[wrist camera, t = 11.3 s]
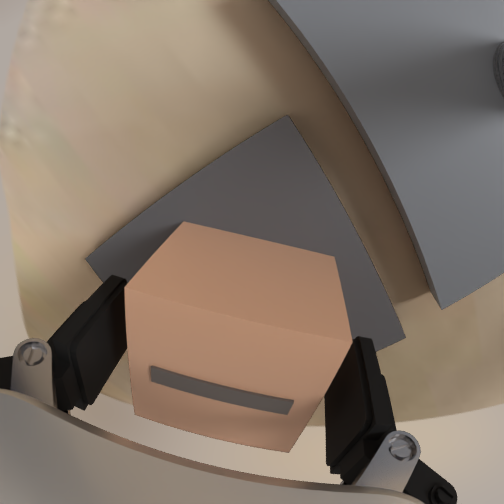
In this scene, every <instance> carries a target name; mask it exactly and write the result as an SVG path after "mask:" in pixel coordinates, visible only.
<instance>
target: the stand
mask: <svg viewBox="0 0 504 504" xmlns="http://www.w3.org/2000/svg"><path fill="white" fill-rule="evenodd" d="M268 1H269V2H270V3H271V4H272V6H273V7H274V8H275V9H276V10H277V12H278V13H279V14H280V15H281V17H282V18H283V19H284V20H285V22H286V23H287V24H288V26H289V27H290V28H291V29H292V31H293V32H294V33H295V35H296V36H297V37H298V39H299V40H300V41H301V43H302V44H303V46H304V47H305V48H306V50H307V51H308V52H309V54H310V55H311V57H312V58H313V60H314V61H315V62H316V64H317V65H318V67H319V68H320V70H321V71H322V73H323V74H324V76H325V77H326V79H327V80H328V82H329V83H330V85H331V86H332V88H333V90H334V91H335V93H336V94H337V96H338V97H339V99H340V101H341V102H342V104H343V106H344V107H345V109H346V111H347V112H348V114H349V116H350V117H351V119H352V121H353V122H354V124H355V126H356V128H357V129H358V131H359V133H360V135H361V136H362V138H363V140H364V142H365V144H366V145H367V147H368V149H369V151H370V153H371V155H372V157H373V159H374V160H375V162H376V164H377V166H378V168H379V170H380V172H381V174H382V176H383V178H384V180H385V182H386V184H387V186H388V188H389V191H390V193H391V195H392V197H393V199H394V201H395V203H396V206H397V208H398V210H399V212H400V214H401V217H402V219H403V221H404V224H405V226H406V228H407V231H408V233H409V235H410V238H411V240H412V243H413V245H414V248H415V250H416V253H417V255H418V258H419V260H420V263H421V266H422V268H423V271H424V274H425V277H426V279H427V282H428V285H429V288H430V291H431V293H432V295H433V296H434V298H435V300H436V301H437V303H438V305H439V306H440V308H441V310H443V309H444V308H446V307H448V306H450V305H452V304H453V303H455V302H457V301H459V300H460V299H462V298H464V297H466V296H467V295H469V294H471V293H472V292H474V291H476V290H477V289H479V288H481V287H482V286H484V285H485V284H487V283H489V282H490V281H492V280H493V279H495V278H496V277H498V276H500V275H501V274H503V273H504V97H503V96H502V94H501V92H500V90H499V88H498V86H497V83H496V80H495V76H494V70H493V58H494V54H495V51H496V49H497V47H498V46H499V45H500V44H501V43H503V42H504V0H268Z"/></svg>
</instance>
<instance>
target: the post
mask: <svg viewBox="0 0 504 504" xmlns="http://www.w3.org/2000/svg"><path fill="white" fill-rule="evenodd" d="M493 70H494V76H495V80H496V83H497V86H498V88H499V90H500V92H501V94H502V96H503V97H504V42H503V43H501V44H500V45H499V46H498V47H497V49H496V51H495V54H494V58H493Z"/></svg>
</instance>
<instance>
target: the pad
mask: <svg viewBox="0 0 504 504" xmlns="http://www.w3.org/2000/svg"><path fill="white" fill-rule="evenodd" d="M183 221H184V222H188V223H193V224H197V225H201V226H206V227H210V228H215V229H219V230H223V231H228V232H232V233H236V234H241V235H245V236H249V237H254V238H258V239H262V240H266V241H271V242H275V243H279V244H283V245H287V246H292V247H296V248H300V249H304V250H308V251H313V252H317V253H321V254H325V255H329V256H333V257H335V261H336V265H337V270H338V274H339V278H340V283H341V287H342V292H343V297H344V301H345V306H346V311H347V316H348V321H349V326H350V331H351V336H352V339H355V338H356V337H357V336H361V337H366V338H371V339H372V340H373V344H374V348H375V352H376V351H378V350H381V349H383V348H385V347H387V346H389V345H392V344H394V343H396V342H398V341H400V340H402V339H404V338H406V337H405V334H404V332H403V329H402V327H401V324H400V322H399V319H398V317H397V315H396V313H395V310H394V308H393V306H392V304H391V301H390V299H389V297H388V295H387V293H386V290H385V288H384V286H383V284H382V282H381V280H380V278H379V276H378V273H377V271H376V269H375V267H374V265H373V263H372V261H371V259H370V257H369V255H368V253H367V251H366V249H365V247H364V245H363V243H362V241H361V239H360V237H359V235H358V234H357V232H356V230H355V228H354V226H353V224H352V222H351V220H350V218H349V217H348V215H347V213H346V211H345V209H344V207H343V206H342V204H341V202H340V200H339V198H338V196H337V195H336V193H335V191H334V189H333V188H332V186H331V184H330V182H329V181H328V179H327V177H326V176H325V174H324V172H323V170H322V169H321V167H320V165H319V164H318V162H317V160H316V159H315V157H314V155H313V154H312V152H311V150H310V149H309V147H308V146H307V144H306V142H305V141H304V139H303V138H302V136H301V134H300V133H299V131H298V130H297V128H296V126H295V125H294V123H293V122H292V120H291V119H290V117H289V116H288V115H286V116H284V117H283V118H281V119H279V120H277V121H276V122H274V123H273V124H271V125H269V126H268V127H266V128H264V129H263V130H261V131H259V132H258V133H256V134H255V135H253V136H251V137H250V138H248V139H247V140H245V141H244V142H242V143H240V144H239V145H237V146H236V147H234V148H233V149H231V150H230V151H228V152H227V153H225V154H224V155H222V156H221V157H219V158H218V159H216V160H215V161H213V162H212V163H210V164H209V165H207V166H206V167H204V168H203V169H201V170H200V171H199V172H197V173H196V174H194V175H193V176H191V177H190V178H189V179H187V180H186V181H184V182H183V183H181V184H180V185H179V186H177V187H176V188H175V189H173V190H172V191H170V192H169V193H168V194H166V195H165V196H164V197H162V198H161V199H160V200H158V201H157V202H155V203H154V204H153V205H151V206H150V207H149V208H148V209H146V210H145V211H144V212H142V213H141V214H140V215H138V216H137V217H136V218H135V219H133V220H132V221H131V222H129V223H128V224H127V225H126V226H124V227H123V228H122V229H121V230H119V231H118V232H117V233H116V234H114V235H113V236H112V237H111V238H109V239H108V240H107V241H106V242H105V243H103V244H102V245H101V246H100V247H98V248H97V249H96V250H95V251H94V252H92V253H91V254H90V255H89V256H88V257H87V258H85V259H86V261H87V262H88V263H89V265H90V266H91V267H92V269H93V270H94V271H95V273H96V274H97V275H98V277H99V278H100V279H101V280H102V282H103V283H104V282H105V281H106V280H107V279H108V278H109V277H110V276H111V275H115V276H119V277H122V278H125V279H126V280H127V283H128V282H129V281H130V280H131V279H132V278H133V277H134V276H135V274H136V273H137V272H138V271H139V270H140V269H141V268H142V266H143V265H144V264H145V263H146V262H147V261H148V260H149V259H150V257H151V256H152V255H153V254H154V253H155V252H156V251H157V250H158V249H159V247H160V246H161V245H162V244H163V243H164V242H165V241H166V240H167V239H168V238H169V236H170V235H171V234H172V233H173V232H174V231H175V230H176V229H177V228H178V227H179V226H180V225H181V224H182V223H183Z"/></svg>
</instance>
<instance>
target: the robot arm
mask: <svg viewBox="0 0 504 504" xmlns="http://www.w3.org/2000/svg"><path fill="white" fill-rule="evenodd" d="M127 284H128V283H127V280H126V279H125V278H122V277H119V276H115V275H111V276H110V277H109V278H108V279H107V280H106V281H105V282H104V283H103V284H102V285H101V286H100V287H99V288H98V289H97V290H96V291H95V292H94V293H93V294H92V295H91V296H90V298H89V299H88V300H87V301H85V302H83V303H82V304H81V305H80V306H79V307H78V308H77V309H76V310H75V311H74V312H73V313H72V314H71V315H70V317H69V318H68V319H67V320H66V321H65V322H64V323H63V324H62V325H61V326H60V328H59V329H58V330H57V331H56V332H55V333H54V334H53V335H52V337H51V338H50V339H49V340H48V341H47V342H45V341H44V340H41V339H37V338H31V339H27V340H25V341H22V342H21V343H20V344H18V345H17V347H16V348H15V351H14V354H13V356H9V357H4V358H0V504H456V503H457V493H456V491H455V489H454V487H453V486H452V485H451V484H450V483H449V482H447V481H446V480H445V479H444V478H442V477H441V476H440V475H439V474H437V473H436V472H435V471H433V470H432V469H431V468H430V467H428V466H427V465H426V464H425V463H423V462H422V461H421V460H420V459H419V457H420V453H421V451H420V445H419V443H418V441H417V440H416V439H415V437H413V436H412V435H411V434H410V433H407V432H405V431H396V426H395V421H394V416H393V411H392V406H391V402H390V397H389V393H388V389H387V384H386V380H385V377H384V376H383V375H381V372H380V368H379V364H378V360H377V356H376V352H375V348H374V344H373V340H372V339H371V338H366V337H361V336H357V337H356V338H355V339H352V341H353V342H352V344H351V346H350V348H349V350H348V352H347V354H346V356H345V358H344V360H343V362H342V364H341V366H340V368H339V369H338V371H337V373H336V375H335V377H334V379H333V380H332V382H331V384H330V386H329V388H328V389H327V391H326V393H325V395H324V399H325V428H326V464H327V466H330V473H331V474H340V478H341V479H342V480H343V481H342V482H341V484H340V485H338V484H325V483H314V482H304V481H295V480H287V479H280V478H273V477H266V476H259V475H255V474H249V473H244V472H239V471H234V470H229V469H225V468H220V467H216V466H212V465H208V464H204V463H200V462H196V461H192V460H189V459H185V458H181V457H178V456H175V455H172V454H168V453H165V452H162V451H159V450H156V449H153V448H150V447H147V446H144V445H141V444H138V443H136V442H133V441H130V440H128V439H125V438H122V437H120V436H117V435H115V434H112V433H110V432H107V431H105V430H103V429H100V428H98V427H96V426H93V425H91V424H89V423H86V422H84V421H82V420H80V419H78V418H75V417H73V416H71V414H70V410H71V409H73V408H74V406H76V407H78V408H80V409H82V410H85V409H86V407H87V406H88V404H89V405H92V404H93V403H94V401H95V399H96V398H97V396H98V395H99V393H100V391H101V390H102V388H103V386H104V385H105V383H106V381H107V380H108V378H109V376H110V375H111V373H112V372H113V370H114V368H115V367H116V365H117V363H118V362H119V360H120V359H121V357H122V355H123V354H124V352H125V351H126V349H127V334H126V317H125V289H124V287H125V286H126V285H127Z"/></svg>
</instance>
